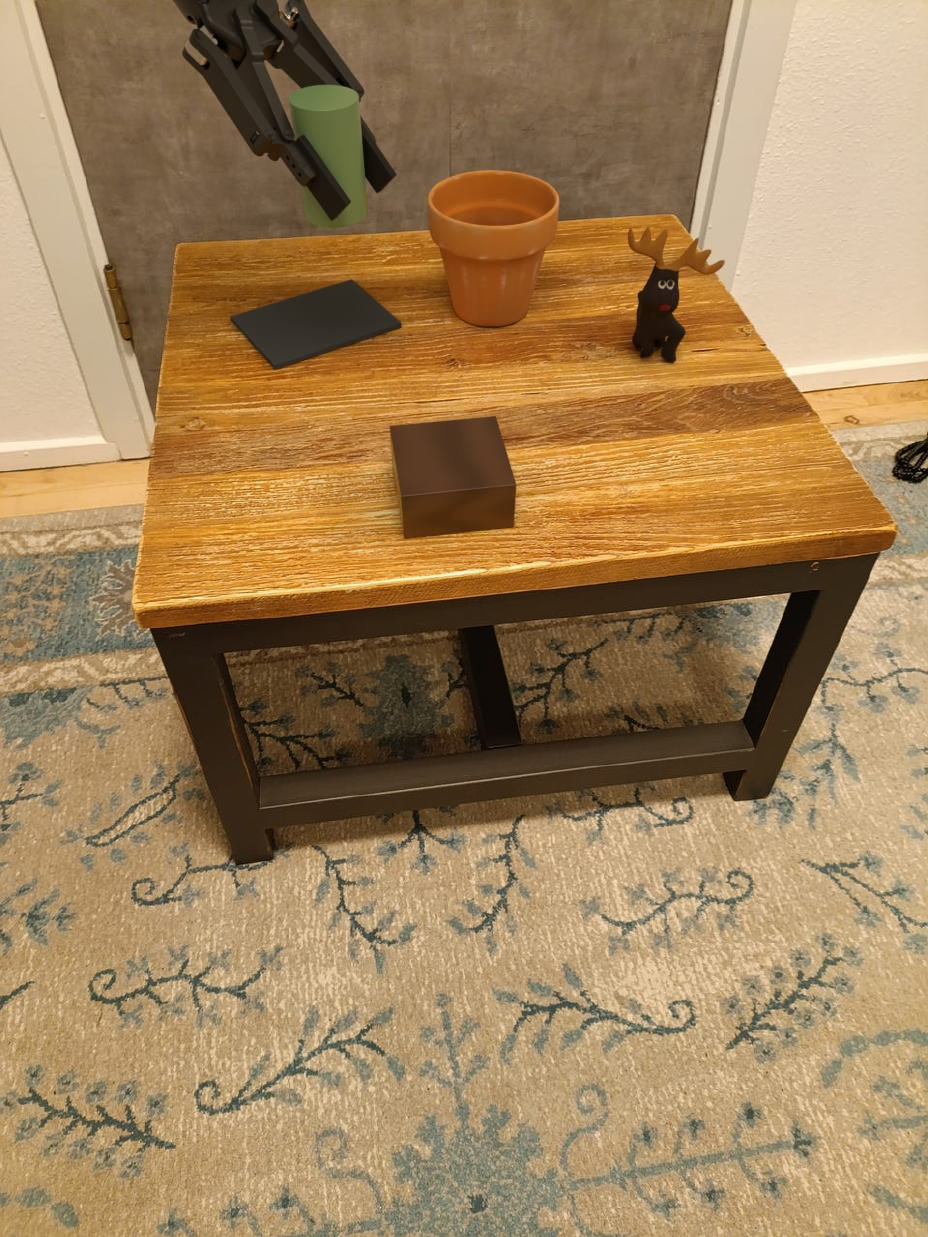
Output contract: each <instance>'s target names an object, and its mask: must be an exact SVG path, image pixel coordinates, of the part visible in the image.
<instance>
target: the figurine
mask: <svg viewBox="0 0 928 1237" xmlns="http://www.w3.org/2000/svg"><path fill="white" fill-rule="evenodd" d="M668 232H669V231H668V229H665V230H663V231H662V232H661V233H660V234H659V235H657V237H656V238H655V239H654V240H652V232H651V228H650V227H646V228H645V229H644V231H643V232H642V235H641V237H640V239H639V241H637V242H636V240H635V235H634V231H633V227H629V229H628V232H627V245H628V246H629V248H630V250H631V251H633V252H634V253H637V254H639V255H642V256H646V257H648V258H650V259H652V260H653V261H654V262H655V263H654V265H653V267H652V270H651V273H650V275H649V277H648V279H647V281H646V283H645V284H644V285H643V288H642V290H640V291H638V293H637V300H638V301H637V309H636V314H635V315H636V317H635V318H636V326H635V330H634V332H633V334H632V338H631V343H632V346H633V347H634V348H635V349H638V350H641V349H642V350H641V352H640V354H639V358H641V359H649V358H651V357H652V356H653V355H654V354H655V351H656V349H661V350H660V356H661V358H662V359H663V360H665V361H667V362H670V363H675V362H676V361H677V356H676V355H677V350H678V348H679V346H680V343H681V342H682V340H683V339H684V338H685V336H686V333H687V332H686V329H685V327H684V326H683V325H682V324H681V323H680V322H679V321H678V320H677V319H676V317H675V316H674V314H673V313H674V312H675V311H676V310H677V309H678V306H679V303H680V289H679V276H680V269H681V268H682V267H689V268H690V269H692V270H694V271H696V272H697V273H700V274H702V275H706V276H707V275H713V274H715V273H717V272H719V270H721V269H722V268H723V267H724V265H725V263H726V262H725V261H726V260H725V259H720V260H718V261H715V263H713V264H710V265H706V264H705V263H706V262H707V260H708V259H709V257H710V256H711V254H712V249H710V248H709V249H708V248H707V249H704V250H702V251H699V252H697V249H698V244H699V241H700V240H699V239H700V238H699V237H696V238H694V240H693V241H692V242H691V244H690V245H689V246H688V247H687V249H686V250H685V251H684V252H683V254H681V255H680V256H679V258H677V259H676V260H674V261H673V262H671V263H666V264H665V262H664V258H663V253H664V250H665V246H666V242H667V239H668V236H669V235H668V234H669V233H668ZM696 252H697V253H696Z"/></svg>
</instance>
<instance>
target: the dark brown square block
mask: <svg viewBox="0 0 928 1237" xmlns="http://www.w3.org/2000/svg"><path fill="white" fill-rule="evenodd" d="M389 439H390V452H391V453H390V454H391V464H392V465H391V466H392V474H393V479H394V486H395V491H396V497H397V504H398V511H399V517H400V522H401V528H402V535H403V539H414V538H422V537H423V538H424V537H431V536H433V537H434V536H440V535H441V536H443V535H450V534H451V535H452V534H460V533H471V532H480V531H488V530H496V529H497V530H498V529H508V528H514V527H515V515H516V498H517V482H516V479H515V476H514V472H513V468H512V466H511V462H510V459H509V455H508V452H507V449H506V445H505V441H504V438H503V435H502V431H501V429H500V425H499V421H498V418H497V416H496V415H491V416H480V417H469V418H459V419H449V420H448V419H447V420H438V421H428V422H418V423H415V422H414V423H406V424H396V425H389Z"/></svg>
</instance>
